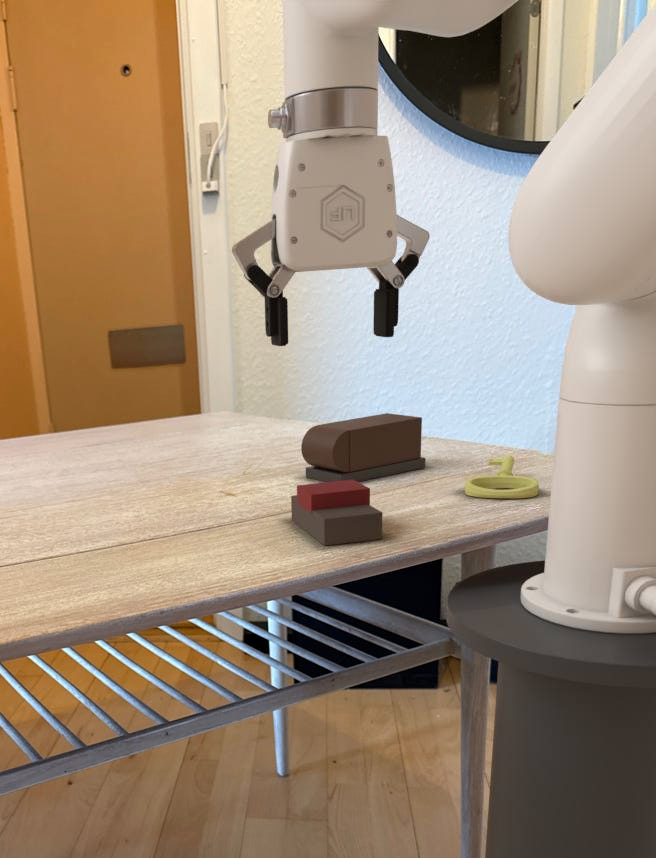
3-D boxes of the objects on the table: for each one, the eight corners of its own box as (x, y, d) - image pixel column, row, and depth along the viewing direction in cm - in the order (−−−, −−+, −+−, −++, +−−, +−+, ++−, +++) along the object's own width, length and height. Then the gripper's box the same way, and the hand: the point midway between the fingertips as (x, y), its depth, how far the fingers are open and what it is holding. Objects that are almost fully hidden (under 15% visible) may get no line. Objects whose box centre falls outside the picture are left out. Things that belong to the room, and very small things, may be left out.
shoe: (335, 486, 104) (334, 433, 102) (299, 478, 109) (298, 427, 107) (425, 467, 110) (427, 417, 108) (387, 460, 116) (388, 412, 113)
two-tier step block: (383, 539, 83) (384, 495, 81) (323, 546, 82) (322, 502, 81) (345, 514, 92) (345, 474, 91) (290, 520, 91) (289, 480, 90)
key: (511, 473, 104) (513, 454, 103) (543, 498, 93) (545, 477, 92) (447, 476, 105) (447, 457, 104) (471, 502, 94) (472, 481, 93)
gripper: (239, 120, 71) (247, 351, 77) (450, 109, 73) (441, 335, 79) (218, 135, 78) (227, 346, 84) (412, 125, 80) (407, 331, 86)
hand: (331, 340), depth 82 cm, fingers open, 9 cm apart
